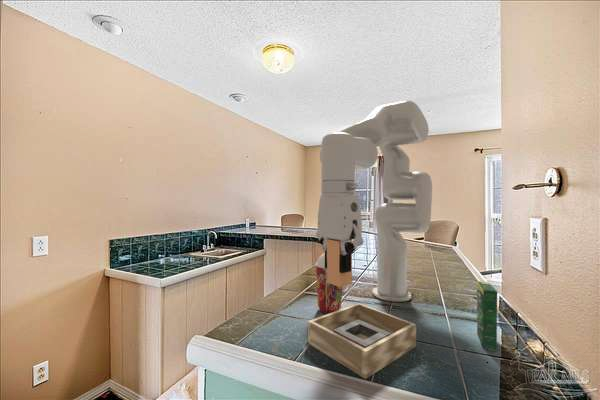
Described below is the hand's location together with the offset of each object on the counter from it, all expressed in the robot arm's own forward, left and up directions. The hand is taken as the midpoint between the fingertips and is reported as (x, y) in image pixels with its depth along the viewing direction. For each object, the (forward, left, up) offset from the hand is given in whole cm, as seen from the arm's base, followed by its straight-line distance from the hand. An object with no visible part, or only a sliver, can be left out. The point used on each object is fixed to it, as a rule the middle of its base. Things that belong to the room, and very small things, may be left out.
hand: (337, 268), depth 63 cm
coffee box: (-28, +21, -17) cm, 39 cm away
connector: (-1, 0, -3) cm, 3 cm away
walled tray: (-4, +4, -17) cm, 18 cm away
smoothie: (-12, -14, -17) cm, 25 cm away
